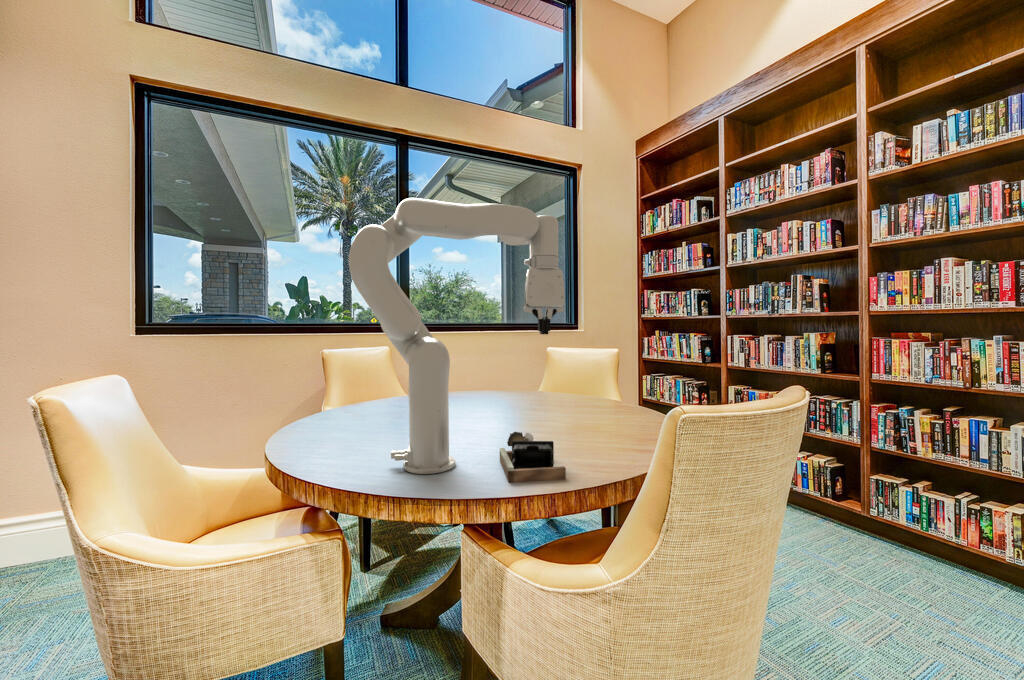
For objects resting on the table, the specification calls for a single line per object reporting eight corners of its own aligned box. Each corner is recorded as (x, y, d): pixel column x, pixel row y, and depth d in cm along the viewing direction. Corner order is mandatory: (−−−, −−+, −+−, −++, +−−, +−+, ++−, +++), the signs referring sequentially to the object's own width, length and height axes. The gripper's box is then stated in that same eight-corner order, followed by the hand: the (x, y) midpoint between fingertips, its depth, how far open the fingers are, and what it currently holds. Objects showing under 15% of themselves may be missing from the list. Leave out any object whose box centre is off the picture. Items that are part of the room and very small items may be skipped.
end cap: (553, 465, 109) (553, 438, 109) (554, 475, 102) (554, 446, 102) (512, 464, 110) (512, 437, 110) (511, 474, 103) (510, 445, 103)
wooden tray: (508, 482, 97) (508, 467, 97) (499, 461, 113) (499, 448, 112) (565, 479, 99) (565, 464, 99) (549, 458, 115) (549, 445, 114)
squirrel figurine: (502, 445, 123) (500, 449, 114) (516, 423, 123) (515, 425, 115) (525, 461, 122) (525, 465, 113) (539, 439, 123) (540, 441, 114)
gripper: (518, 262, 112) (518, 334, 112) (575, 263, 114) (575, 334, 114) (513, 265, 119) (514, 334, 120) (567, 266, 121) (567, 333, 122)
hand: (544, 334), depth 117 cm, fingers closed
